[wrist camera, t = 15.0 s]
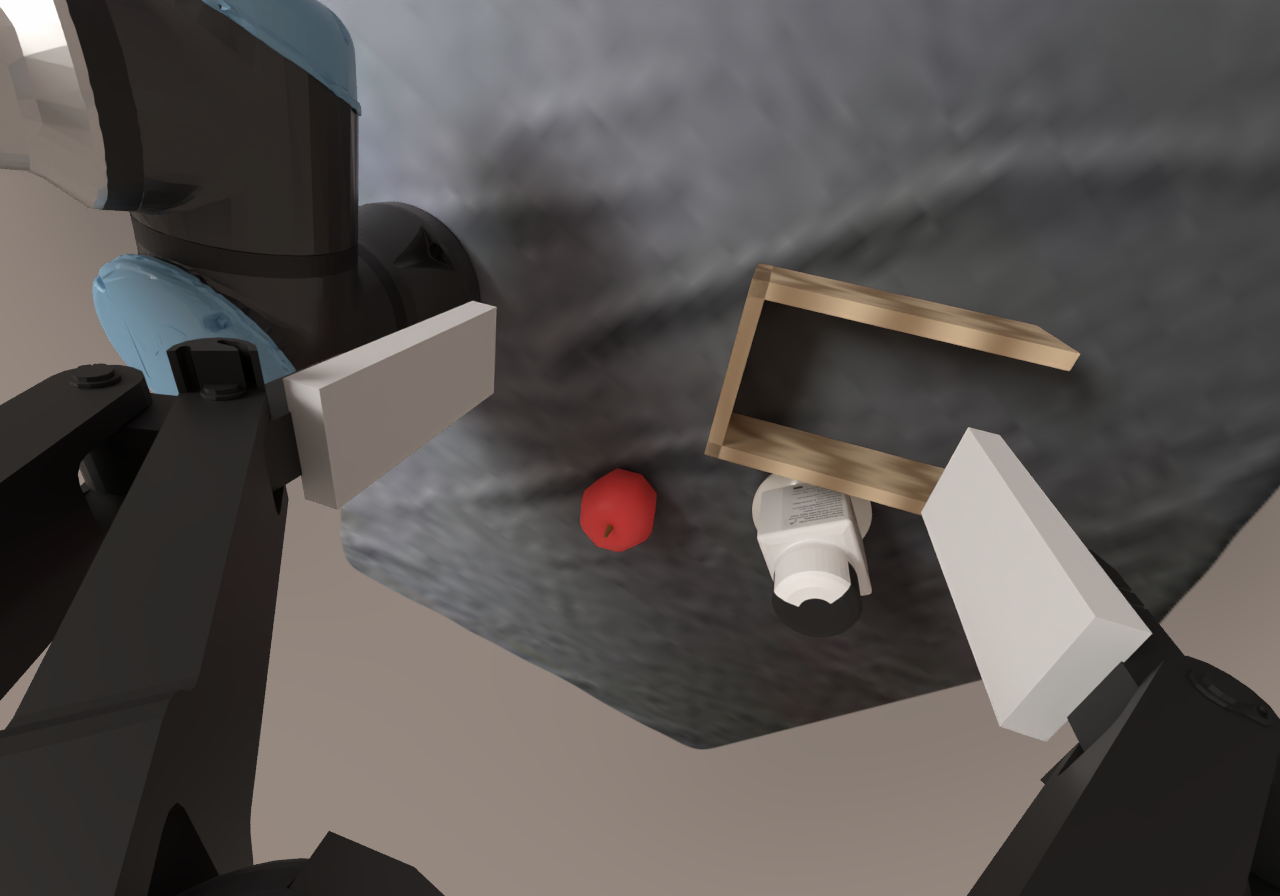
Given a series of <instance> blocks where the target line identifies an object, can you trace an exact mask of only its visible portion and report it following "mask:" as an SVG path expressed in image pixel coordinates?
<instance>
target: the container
mask: <svg viewBox="0 0 1280 896" xmlns="http://www.w3.org/2000/svg"><path fill="white" fill-rule="evenodd" d="M757 539H758V542H759V545H760V547H761V550H762V553H763V555H764V558H765V561H766V564H767V566H768V569H769V572H770V574H771V577H772V580H773V598H772V602H773V607H774V610H775V612H776V614H777V616H778V617H779V618H780V620H781V621H782V622H783V623H785V624H786V625H787V626H788V627H790V628H791V629H793V630H795V631H797V632H799V633H802V634H805V635H808V636H814V637H828V636H833V635H837V634H840V633H842V632H844V631H846V630H847V629H849V628H850V627H852V626H853V625H854V624H855V623H856V622H857V620H858V619H859V617H860V615H861V612H862V601H861V596H863V595H869V594H871V592H872V588H871V583H870V577H869V572H868V566H867V561H866V555H865V550H864V544H863V539H862V536H861V532H860V529H859V525H858V522H857V518H856V515H855V511H854V508H853V504H852V501H851V497H850V495H848V494H844V493H841V492H837V491H833V490H830V489H826V488H823V487H819V486H816V485H812V484H808V483H800V484H796V485H791V486H786V487H781V488H776V489H771V490H766V491H763V493H762V495H761V505H760V515H759V525H758V535H757Z"/></svg>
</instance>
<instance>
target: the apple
mask: <svg viewBox="0 0 1280 896" xmlns="http://www.w3.org/2000/svg"><path fill="white" fill-rule="evenodd" d="M656 499H657V493H656V492H655V491H654V489H653V488H652V487H651V485H650V484H649V483H648V482H647V480H646V479H645V478H644V476H643V475H642V474H639V473H635V472H631V471H627V470H623V469H618V468H617V469H615V470H613V471H611V472H610V473H608V474H606V475H605V476H603V477H601V478H599V479H598V480H597V481H595V482H594V483H593V484H592V485H591V486H589V487H588V488H587V489H586V490H584V494H583V498H582V503H581V516H580V524H581V527H582V529H583V531H584V532H585V533H586V534H587V535H588V537H589V538H590V539H591V540H592V541H593V542H594V544H595V545H596V546H597V547H601V548H605V549H608V550H612V551H616V552H621V551H625V550H627V549H629V548H631V547H633V546H635V545H637V544H639V543H642V542H644V541H646V539H647V538H648V537H649V536H650V534H651V533H652V528H653V522H654V516H655V510H656Z"/></svg>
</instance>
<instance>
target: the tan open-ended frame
mask: <svg viewBox="0 0 1280 896" xmlns="http://www.w3.org/2000/svg"><path fill="white" fill-rule="evenodd" d="M764 300H769V301H773V302H777V303H781V304H786V305H790V306H794V307H798V308H803V309H807V310H811V311H815V312H820V313H824V314H828V315H832V316H837V317H841V318H845V319H850V320H854V321H858V322H862V323H867V324H871V325H875V326H879V327H884V328H888V329H892V330H896V331H901V332H905V333H909V334H913V335H918V336H922V337H926V338H930V339H935V340H939V341H943V342H947V343H952V344H956V345H960V346H964V347H969V348H973V349H977V350H981V351H986V352H990V353H994V354H998V355H1003V356H1007V357H1011V358H1015V359H1020V360H1024V361H1028V362H1032V363H1037V364H1041V365H1045V366H1050V367H1054V368H1058V369H1062V370H1067V371H1070V370H1071V368H1072V366H1073V365H1074V363H1075V362H1076V360H1077V358H1078V357H1079V355H1080V353H1079V352H1077V351H1075V350H1074V349H1072V348H1071V347H1069V346H1068V345H1066V344H1065V343H1063V342H1061V341H1060V340H1058V339H1057V338H1055V337H1054V336H1052V335H1051V334H1049V333H1048V332H1046V331H1044V330H1043V329H1041V328H1040V327H1038V326H1036V325H1032V324H1027V323H1023V322H1018V321H1014V320H1010V319H1005V318H1001V317H996V316H992V315H987V314H983V313H979V312H974V311H970V310H965V309H961V308H956V307H952V306H948V305H943V304H939V303H934V302H930V301H925V300H921V299H917V298H912V297H908V296H903V295H899V294H894V293H890V292H886V291H881V290H877V289H872V288H868V287H863V286H859V285H855V284H850V283H846V282H841V281H837V280H832V279H828V278H823V277H819V276H815V275H810V274H806V273H801V272H797V271H792V270H788V269H784V268H779V267H775V266H770V265H766V264H761V263H758V265H757V267H756V270H755V273H754V275H753V278H752V281H751V285H750V288H749V292H748V296H747V299H746V303H745V307H744V310H743V314H742V318H741V321H740V325H739V329H738V332H737V336H736V340H735V343H734V347H733V351H732V354H731V358H730V362H729V365H728V369H727V373H726V376H725V380H724V384H723V387H722V391H721V395H720V398H719V402H718V406H717V409H716V413H715V417H714V420H713V424H712V428H711V431H710V435H709V439H708V442H707V446H706V450H705V453H704V454H705V455H709V456H712V457H716V458H719V459H723V460H726V461H730V462H734V463H737V464H741V465H744V466H748V467H751V468H755V469H758V470H762V471H766V472H769V473H773V474H776V475H780V476H783V477H787V478H791V479H794V480H798V481H801V482H805V483H808V484H812V485H816V486H819V487H823V488H826V489H830V490H833V491H837V492H841V493H844V494H848V495H851V496H855V497H858V498H862V499H865V500H869V501H873V502H876V503H880V504H883V505H887V506H890V507H894V508H898V509H901V510H905V511H908V512H912V513H915V514H919V515H922V514H921V512H922V510H923V508H924V506H925V504H926V503H927V501H928V499H929V497H930V495H931V494H932V492H933V490H934V488H935V486H936V485H937V483H938V481H939V479H940V477H941V476H942V474H943V472H944V470H945V469H943V468H939V467H936V466H932V465H928V464H924V463H921V462H917V461H913V460H909V459H906V458H902V457H898V456H894V455H891V454H887V453H883V452H879V451H876V450H872V449H868V448H864V447H861V446H857V445H853V444H849V443H846V442H842V441H838V440H834V439H831V438H827V437H823V436H820V435H816V434H812V433H808V432H805V431H801V430H797V429H793V428H790V427H786V426H782V425H778V424H775V423H771V422H767V421H763V420H760V419H756V418H752V417H748V416H745V415H741V414H737V413H733V412H732V410H733V406H734V403H735V399H736V396H737V392H738V389H739V385H740V382H741V379H742V375H743V372H744V368H745V365H746V361H747V358H748V354H749V351H750V347H751V344H752V341H753V337H754V334H755V330H756V327H757V323H758V320H759V316H760V313H761V310H762V306H763V303H764Z"/></svg>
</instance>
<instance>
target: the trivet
mask: <svg viewBox="0 0 1280 896" xmlns="http://www.w3.org/2000/svg"><path fill="white" fill-rule="evenodd" d="M800 483H805V482H801V481H798V480H794V479H791V478H787V477H783V476H780V475H776V474H773V473H771V474H770V475H769V476H768V477H766V478H765V479H764V481H763V482H762V483H761V484H760V486H759V487H758V489H757V491H756V493H755V496H754V500H753V507H752V516H753V521H754V524H755V526H756V529H757V531H758V525H759V515H760V505H761V495H762V493H763V491H766V490H771V489H776V488H781V487H786V486H791V485H796V484H800ZM850 497H851V501H852V504H853V508H854V511H855V515H856V518H857V522H858V525H859V529H860V532H861V536H862V539H863V538H864V537H865V535H866V533H867V532H868V529H869V527H870V524H871V519H872V508H871V503H870V501H869V500H865V499H862V498H858V497H855V496H851V495H850Z"/></svg>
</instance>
